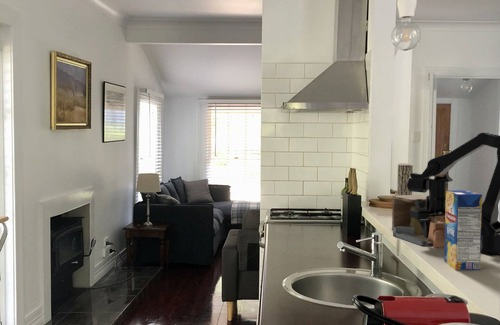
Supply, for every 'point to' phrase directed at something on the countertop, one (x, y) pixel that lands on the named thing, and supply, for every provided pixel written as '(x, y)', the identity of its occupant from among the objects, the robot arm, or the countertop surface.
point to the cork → (416, 224)
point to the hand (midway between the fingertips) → (436, 237)
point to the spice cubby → (405, 210)
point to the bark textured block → (403, 178)
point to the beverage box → (463, 229)
